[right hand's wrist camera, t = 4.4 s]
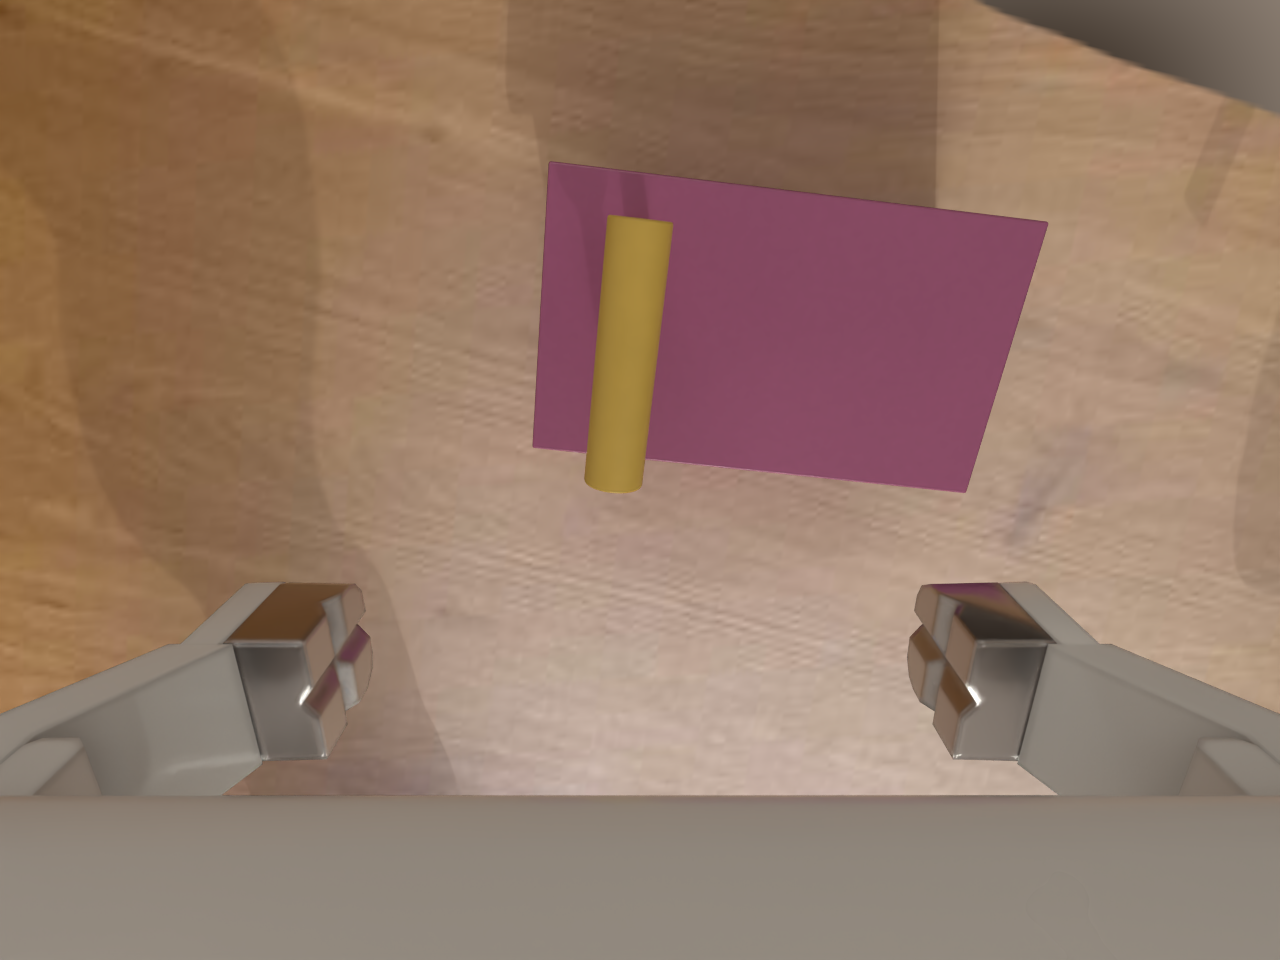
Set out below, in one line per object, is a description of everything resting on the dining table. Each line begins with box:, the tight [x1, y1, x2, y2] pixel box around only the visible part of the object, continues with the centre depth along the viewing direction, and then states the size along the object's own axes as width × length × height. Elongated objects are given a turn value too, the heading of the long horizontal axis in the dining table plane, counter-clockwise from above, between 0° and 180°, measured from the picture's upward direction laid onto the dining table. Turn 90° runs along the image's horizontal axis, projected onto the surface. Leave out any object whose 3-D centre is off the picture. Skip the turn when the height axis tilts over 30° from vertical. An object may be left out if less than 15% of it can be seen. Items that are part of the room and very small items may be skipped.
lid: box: [533, 161, 1048, 493], centre depth 22 cm, size 17×10×8 cm, turn 84°
